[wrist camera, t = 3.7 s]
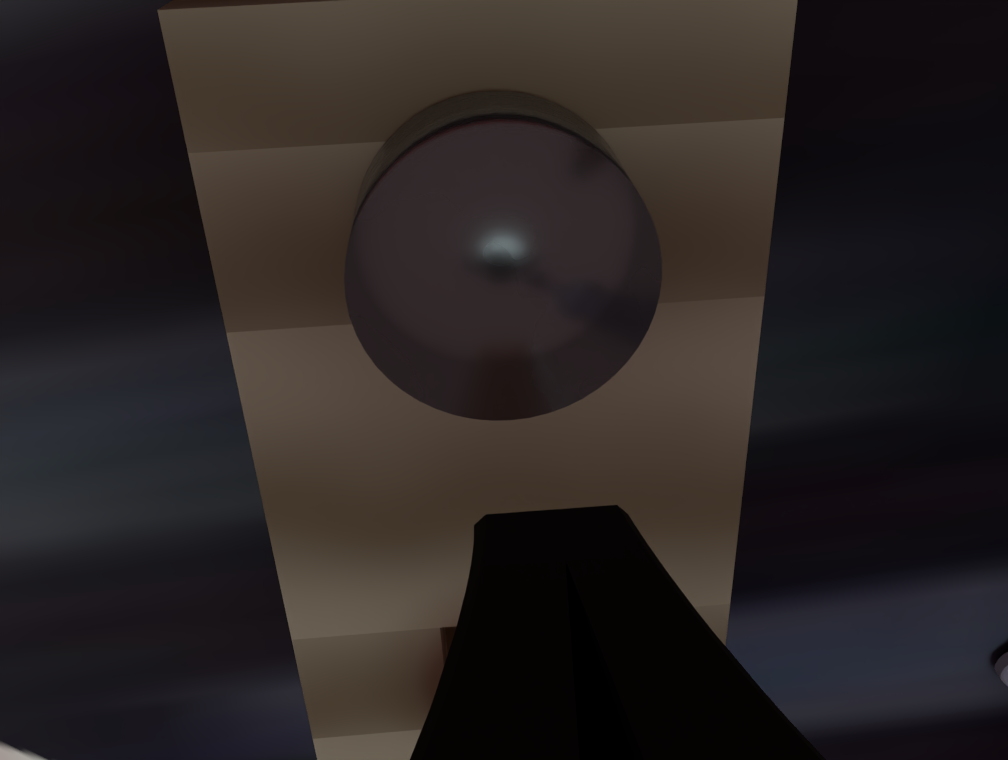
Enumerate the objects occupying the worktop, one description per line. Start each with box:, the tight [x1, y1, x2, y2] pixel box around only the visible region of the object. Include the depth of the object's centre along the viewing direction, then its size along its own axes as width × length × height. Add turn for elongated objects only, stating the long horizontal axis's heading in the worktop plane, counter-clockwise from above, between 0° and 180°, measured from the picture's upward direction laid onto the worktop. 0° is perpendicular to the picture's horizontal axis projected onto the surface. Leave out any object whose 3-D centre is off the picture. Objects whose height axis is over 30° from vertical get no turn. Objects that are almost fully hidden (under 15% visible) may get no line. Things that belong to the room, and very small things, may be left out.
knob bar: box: [158, 0, 797, 760], centre depth 21 cm, size 27×9×3 cm, turn 2°
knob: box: [344, 91, 662, 421], centre depth 15 cm, size 4×4×4 cm
